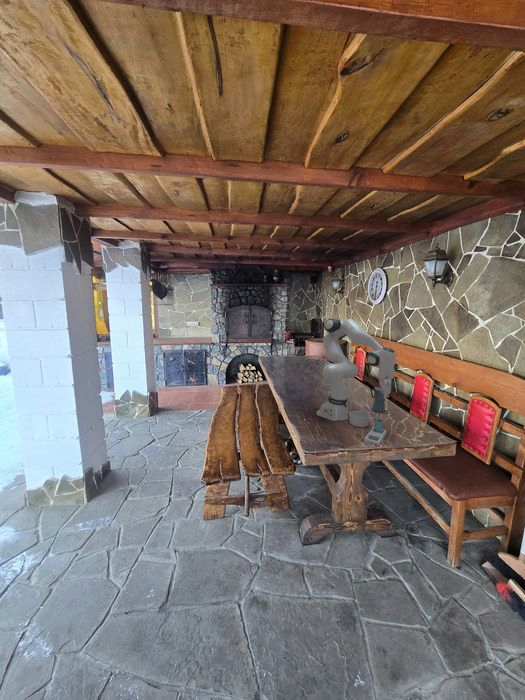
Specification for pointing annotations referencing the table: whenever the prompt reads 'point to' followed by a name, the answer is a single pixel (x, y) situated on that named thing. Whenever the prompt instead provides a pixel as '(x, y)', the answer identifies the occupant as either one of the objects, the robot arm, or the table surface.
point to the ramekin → (359, 418)
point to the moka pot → (378, 400)
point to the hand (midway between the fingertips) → (383, 395)
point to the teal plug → (378, 425)
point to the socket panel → (375, 436)
